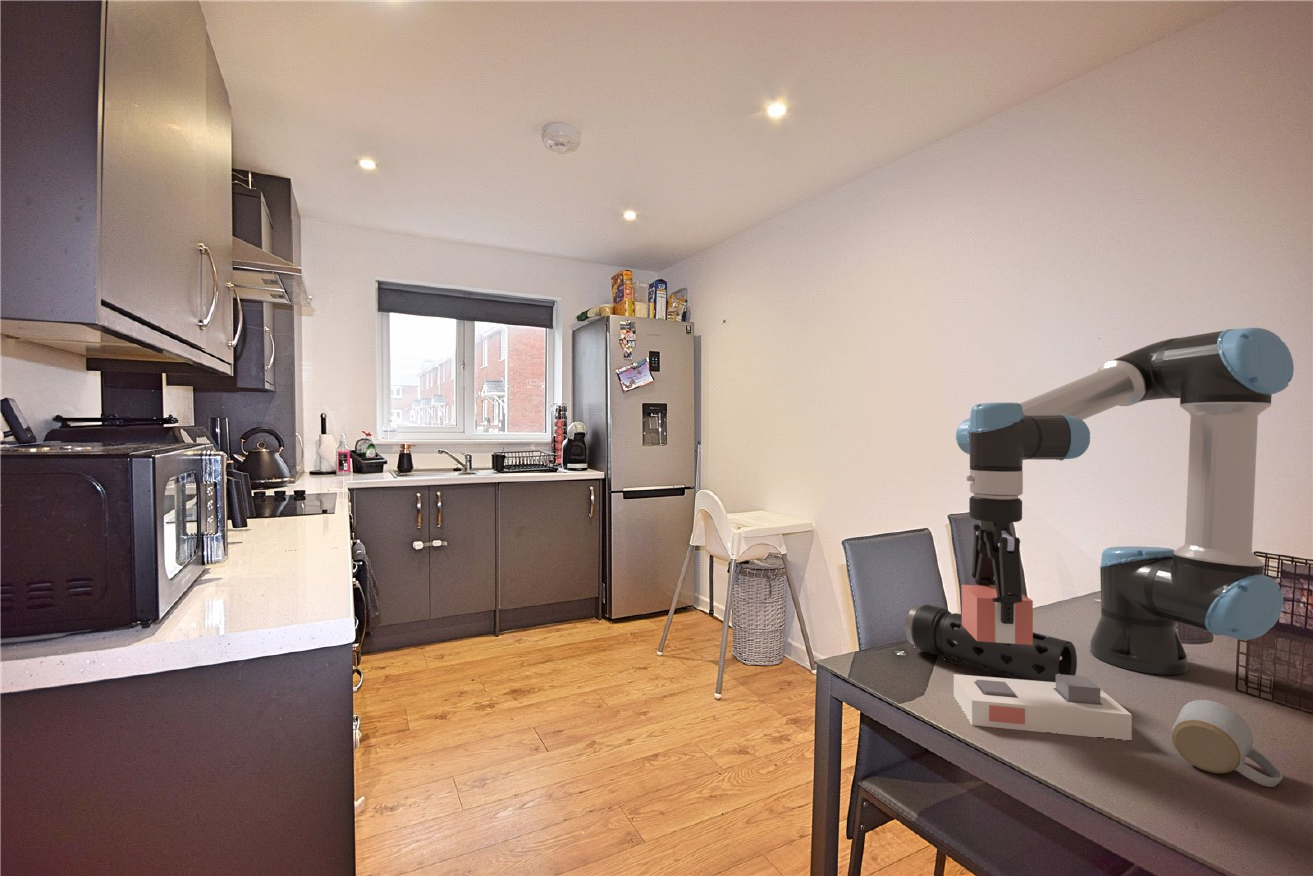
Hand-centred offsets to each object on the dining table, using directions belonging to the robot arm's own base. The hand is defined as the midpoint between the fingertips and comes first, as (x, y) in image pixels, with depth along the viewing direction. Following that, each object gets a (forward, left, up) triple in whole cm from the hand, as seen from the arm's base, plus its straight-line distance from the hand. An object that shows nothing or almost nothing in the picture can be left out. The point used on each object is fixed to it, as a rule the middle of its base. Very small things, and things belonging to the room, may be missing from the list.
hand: (994, 632), depth 94 cm
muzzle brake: (-4, -18, -14) cm, 23 cm away
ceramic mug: (-26, +10, -14) cm, 31 cm away
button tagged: (0, 0, -13) cm, 13 cm away
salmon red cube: (0, 0, 0) cm, 0 cm away
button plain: (-12, 0, -11) cm, 16 cm away
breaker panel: (-6, 0, -13) cm, 15 cm away
